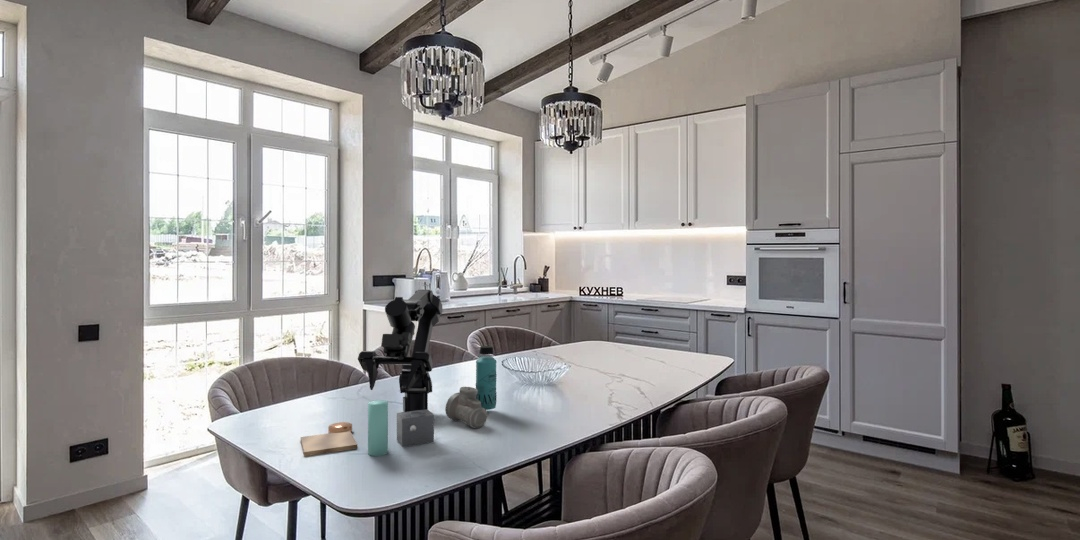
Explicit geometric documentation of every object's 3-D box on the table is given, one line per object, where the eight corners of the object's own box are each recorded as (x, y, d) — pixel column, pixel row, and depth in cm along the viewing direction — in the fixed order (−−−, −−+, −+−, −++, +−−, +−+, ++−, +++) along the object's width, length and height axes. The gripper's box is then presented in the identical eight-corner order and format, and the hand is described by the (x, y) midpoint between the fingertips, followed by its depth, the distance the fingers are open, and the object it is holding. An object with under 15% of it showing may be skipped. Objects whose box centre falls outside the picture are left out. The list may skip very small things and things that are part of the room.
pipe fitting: (442, 420, 159) (447, 385, 158) (465, 417, 164) (470, 383, 163) (465, 435, 150) (470, 398, 149) (489, 431, 155) (494, 395, 154)
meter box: (427, 435, 146) (427, 408, 146) (434, 443, 140) (434, 415, 140) (396, 439, 143) (396, 412, 143) (402, 448, 137) (402, 420, 136)
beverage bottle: (471, 413, 167) (471, 347, 166) (481, 408, 173) (481, 343, 172) (490, 416, 164) (490, 348, 164) (500, 410, 171) (500, 345, 170)
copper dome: (350, 428, 153) (350, 421, 153) (354, 434, 147) (354, 427, 147) (327, 431, 150) (327, 424, 150) (330, 438, 145) (329, 430, 145)
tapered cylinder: (385, 448, 137) (385, 399, 136) (389, 454, 133) (389, 404, 132) (366, 450, 135) (366, 401, 134) (369, 457, 131) (369, 406, 130)
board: (349, 434, 147) (349, 430, 147) (357, 448, 136) (357, 444, 136) (300, 441, 141) (300, 437, 141) (304, 456, 131) (304, 452, 131)
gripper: (359, 320, 146) (343, 371, 136) (430, 321, 146) (419, 373, 135) (370, 344, 155) (356, 394, 144) (437, 346, 154) (427, 396, 143)
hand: (388, 389), depth 141 cm, fingers open, 9 cm apart
